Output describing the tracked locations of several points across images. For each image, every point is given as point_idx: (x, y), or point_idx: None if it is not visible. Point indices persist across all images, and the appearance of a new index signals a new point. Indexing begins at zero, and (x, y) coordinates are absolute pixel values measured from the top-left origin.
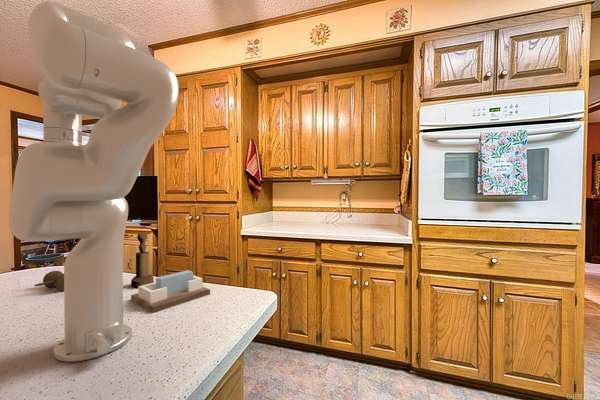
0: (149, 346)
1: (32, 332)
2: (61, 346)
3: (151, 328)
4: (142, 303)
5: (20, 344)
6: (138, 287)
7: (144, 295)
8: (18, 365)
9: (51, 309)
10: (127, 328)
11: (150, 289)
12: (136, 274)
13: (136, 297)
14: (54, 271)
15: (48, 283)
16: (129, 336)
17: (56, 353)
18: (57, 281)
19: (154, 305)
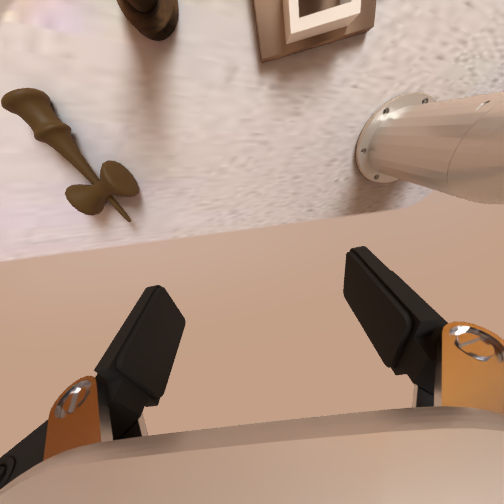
0: (471, 75)
1: (297, 203)
2: (383, 176)
3: (424, 56)
4: (319, 43)
5: (321, 209)
6: (291, 34)
7: (321, 30)
8: (369, 205)
9: (225, 191)
10: (411, 98)
11: (339, 5)
12: (144, 6)
13: (287, 50)
14: (76, 203)
15: (119, 205)
16: (433, 99)
17: (395, 180)
18: (132, 194)
19: (367, 20)
